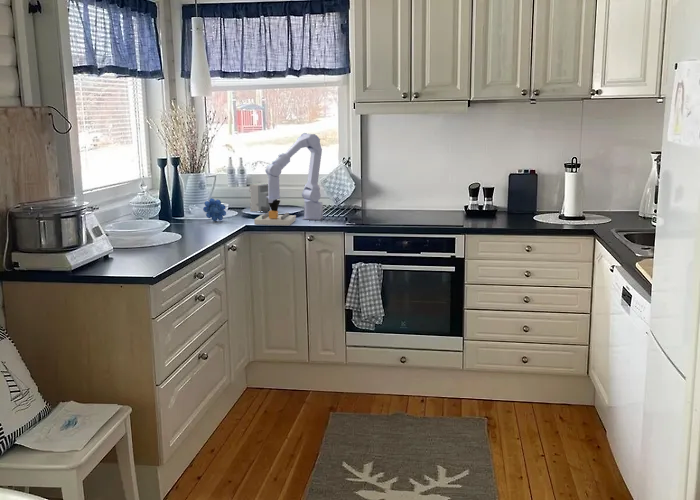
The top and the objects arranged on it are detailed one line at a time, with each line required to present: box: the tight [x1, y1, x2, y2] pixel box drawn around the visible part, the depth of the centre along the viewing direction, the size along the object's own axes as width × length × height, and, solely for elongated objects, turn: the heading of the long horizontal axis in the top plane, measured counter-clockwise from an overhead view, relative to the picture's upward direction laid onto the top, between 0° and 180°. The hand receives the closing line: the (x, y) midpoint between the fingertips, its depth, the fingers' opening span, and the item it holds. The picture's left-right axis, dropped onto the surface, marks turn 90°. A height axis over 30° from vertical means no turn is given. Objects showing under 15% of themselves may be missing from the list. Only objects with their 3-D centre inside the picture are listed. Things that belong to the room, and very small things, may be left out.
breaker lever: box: [268, 209, 279, 219], centre depth 362 cm, size 4×3×4 cm
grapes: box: [202, 197, 227, 222], centre depth 367 cm, size 12×7×12 cm, turn 109°
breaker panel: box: [254, 211, 297, 226], centre depth 366 cm, size 18×14×4 cm
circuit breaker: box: [248, 182, 271, 212], centre depth 394 cm, size 8×14×15 cm, turn 53°
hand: (274, 214), depth 364 cm, fingers closed
